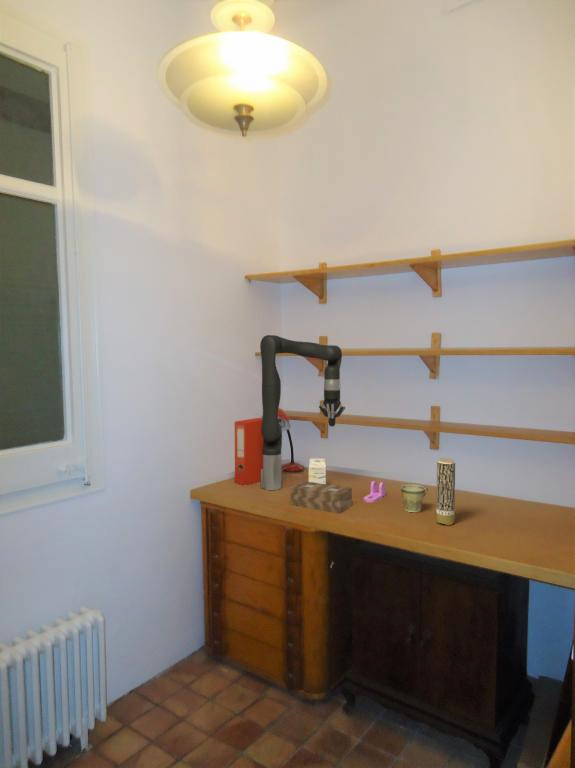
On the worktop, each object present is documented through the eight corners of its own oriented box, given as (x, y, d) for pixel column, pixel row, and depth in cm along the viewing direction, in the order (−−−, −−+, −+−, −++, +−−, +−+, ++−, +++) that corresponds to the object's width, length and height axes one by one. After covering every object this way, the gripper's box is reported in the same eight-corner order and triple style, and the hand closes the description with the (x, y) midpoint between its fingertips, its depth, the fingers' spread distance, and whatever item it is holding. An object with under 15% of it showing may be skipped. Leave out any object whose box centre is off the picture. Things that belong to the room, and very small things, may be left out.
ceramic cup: (410, 515, 216) (411, 492, 215) (395, 509, 225) (396, 486, 224) (435, 511, 221) (435, 488, 220) (420, 505, 230) (420, 482, 229)
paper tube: (434, 520, 210) (435, 458, 208) (451, 520, 210) (452, 458, 208) (438, 526, 203) (439, 462, 202) (456, 526, 203) (457, 462, 201)
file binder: (269, 479, 276) (268, 419, 274) (246, 486, 263) (245, 422, 261) (258, 476, 282) (257, 417, 279) (235, 483, 269) (234, 421, 266)
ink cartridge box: (308, 490, 255) (308, 460, 254) (308, 487, 260) (308, 458, 259) (325, 490, 255) (325, 460, 253) (326, 487, 259) (326, 458, 258)
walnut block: (290, 504, 232) (290, 487, 231) (303, 498, 242) (303, 481, 241) (339, 513, 219) (340, 494, 219) (351, 505, 229) (351, 488, 229)
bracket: (374, 494, 247) (374, 480, 247) (385, 496, 244) (385, 481, 244) (361, 501, 237) (361, 486, 236) (372, 503, 233) (373, 488, 233)
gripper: (315, 388, 241) (315, 426, 242) (341, 390, 234) (341, 428, 235) (322, 387, 247) (323, 424, 249) (348, 388, 241) (348, 426, 242)
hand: (332, 426), depth 242 cm, fingers closed
